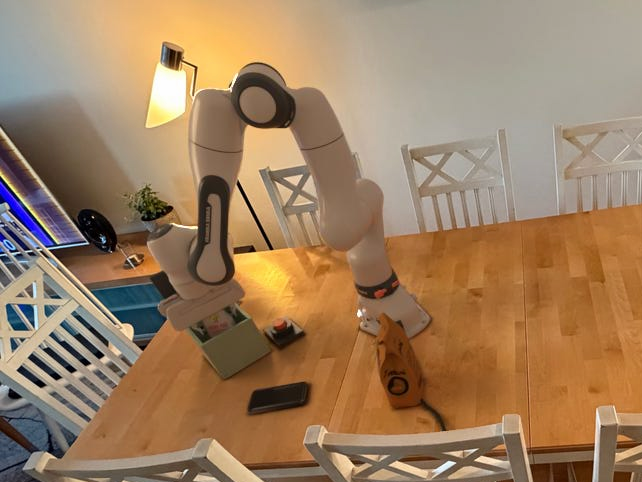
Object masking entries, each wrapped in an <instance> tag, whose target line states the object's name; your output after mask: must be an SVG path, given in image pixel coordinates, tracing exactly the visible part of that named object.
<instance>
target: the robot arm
mask: <svg viewBox="0 0 642 482" xmlns="http://www.w3.org/2000/svg"><path fill="white" fill-rule="evenodd" d="M190 106H191V108H190V113H189V119H188V133H187V138H188V139H187V144H188V145H187V146H188V147H187V148H188V158H189V164H190V169H191V173H192V174H191V175H192V179H193V183H194V184H193V185H194V189H195V194H196V203H197V226H187V225H181V224H178V223H175V222H165V223H163V224H160V225H158V226H156V227H155V228H154V229H153V230H152V231H151V232H150V233H149V234H148V236H147V239H146V245H147V248H148V250H149V252H150V254H151V255H152V257H153V259H154V261H155V262H156V264H157V265H158V267H159V268H160V270H161V271H162V270H163V271H164V272H165V273H166V274H167V276H168V278H169V281H170V283H171V284H172V286H173V287H174V289H175V290H176V292H177V293H175V294H173V295H171V296H170V297H168V298H166V299H164V298H163V299H162V300H160V302H159V304H158V305H157V311H158V312H159V313H160V315H161V316H163V317H165V318H166V320H167V321H168V323H169V325H170V326H171V328H172V329H173V330H174V331H176V332H183V331H184V330H185V329H186V328H188V327H190V326H191V327H192V328H193V329H195V330H197V331H200V333H201V334H202V335H204V334H206V333H208V332H207V331H206V329H205V328H204V327H203V326H201V327H198V326H197V324H196V323H198V322H199V321H201V320H203V319H205V318H207V317H209V316H210V315H212V314H214V313H216V312H218V311H220V310H222V309H223V308H225V307H227V306H230V311H229V312H228V313H229V314H230V316H231V317H232V318H235V317H237V314H236V313H235V310H236V304H235V302H236V301H238V300H239V301H241V300H242V299H244V298H245V297H246V291H245V289H244V288H243V286H242V285H241V283H239V281H238V280H237V279H235V277H234V276H235V273H236V267H235V266H236V265H235V257H234V256H235V254H234V253H235V250H234V239H233V236H232V235H231V234H230V232H229V222H230V221H229V220H230V219H229V218H230V210H231V204H232V200H233V197H234V193H235V189H236V187H237V184H238V181H239V177H240V174H241V170H242V169H241V168H242V163H243V158H244V146H245V145H244V144H245V134H246V129H247V128H248V126H250V127H252V128H256V129H261V130H270V129H289V130H290V132H291V134H292V136H293V137H294V140H295V142H296V144H297V146H298V148H299V149H298V150H299V151H300V153H301V155H302V157H303V160H304V162H305V165H306V166H307V169H308V171H309V173H310V176H311V179H312V182H313V185H314V190H315V194H316V201H317V205H318V213H319V221H318V234H319V237H320V240H321V241H322V242H323V244H324V245H326V246H327V247H328V248H329V249H331V250H333V251H335V252H339V253H345V252H346V261H347V263H348V266H349V269H350V272H351V274H352V277H353V283H354V284H353V285H354V288H355V290H356V292H357V294H358V298H357V303H356V304H357V308H358V311H357V317H358V318H360V319H361V321H360V324H359V328H360V330H362V331H364V332H366V333H368V334H371V335H373V336H376V337H377V335H378V332H379V329H380V327H381V323H380V321H379V318H378V317H379V315H380V314H381V313H385V314H386V315H387V316H389V317H390V318H391V319H392V320H394V322H396V323H397V324H399V325H400V326H401V327H402V328H403V330H404V331H405V333H406V335H407V337H408V339H409V340H410V339H411V338H413V337H414V336H416V335H417V334H419V333H420V332H422V331H423V330H424V329H426V327H427V326H428V325H429V324H430V322H431V317H430V315H429V314H428V313H427V312H426V311H425V310H424V309H423V307H421V306H420V305H419V304H418V303H417V302H416V301H417V300H418V297H417V295H416V294H415V293H414V292H412V293H409V291H408V288H407V285H402V283H401V282H400V280H399V278H398V275H397V273H396V271H395V270H394V269H393V267H392V265H391V262H390V258H389V255H388V251H387V246H386V239H385V238H386V237H385V228H384V227H385V226H384V213H383V212H384V210H383V209H384V202H385V197H384V192H383V191H382V188H381V187H380V186H379V185H378V184H377V182H375V181H374V180H371V179H368V178H364V177H363V178H358V179H356V178H357V177H356V176H357V175H356V174H357V173H356V172H357V164H356V160H355V158H354V155H353V153H352V150H351V148H350V147H351V146H350V145H349V142H348V140H347V137H346V135H345V132H344V130H343V127H342V125H341V123H340V120H339V118H338V116H337V114H336V112H335V110H334V108H333V107H332V105H331V103H330V102H329V100H328V98H327V97H326V95H325V94H324V93H323V92H322V91H321V90H320V89H318V88H316V87H312V86H304V87H299V88H297V89H296V88H291V87H289V86H287V83H286V80H285V79H284V77H283V76H282V74H281V73H280V72H279V71H278V70H277V69H276V68H275V67H273V66H272V65H270V64H267V63H266V62H260V61H255V62H254V61H253V62H249V63H247V64H246V65H244V66H243V67H242V68H240V70H239V71H238V72H237V73H236V75H235V76H234V78H233V79H232V81H231V82H230V83H229V85H228V89H220V88H216V87H205V88H202V89H199V90H198V91H196V92H195V94H194V96H193V98H192V104H191V105H190ZM185 331H186V330H185ZM420 402H421V403H420V404H421V405H422V406H423V407H424V408H425V409H427V411H429V412H430V413H432V414H433V415H434V417H435V418H436V419H437V421H438V422H439V425H440V428H441V431H442V432H443V431H447V428H446V425H445V422H444V420H443V418H442V417H441V415H440V414H439V412H438V411H437V410H436V409H434V408H433V407H432V406H431V405H429V404H428V403H427V402H426V401H425V400H424V398H423V397H422V398H421V400H420Z"/></svg>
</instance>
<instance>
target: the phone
mask: <svg viewBox="0 0 642 482" xmlns="http://www.w3.org/2000/svg"><path fill="white" fill-rule="evenodd" d="M308 391H309V384H308V383H307V381H299V382H298V381H297V382H292V383H287V384H281V385H275V386H274V385H273V386H269V387H263V388H258V389H255V390H253V391H252V393H251V395H250V398H249V402H248V404H247V408H246V410H247V412H249V414H250V415H254V414H259V413H265V412H273V411H278V410H282V409H289V408H294V407H300V406H303V405H305V404H306V401H307V397H308V396H307V395H308Z"/></svg>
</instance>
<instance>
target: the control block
mask: <svg viewBox="0 0 642 482" xmlns="http://www.w3.org/2000/svg"><path fill="white" fill-rule="evenodd" d="M282 319H284V320H285V322H286V324H287V325H286V327H285V328H283V329H282V330H275V328H274V327H273V323H271V324H270V325H269V326H267V327H264V328H263V329H262V331H263V333H264V334H265V335H266V336H267V337H268V338H269V339H270V340H271V341H272V342H273V343H274V344H275V345H276V346H278V347H279V349H280V350H283V349H284V348H285V347H287V346H288V345H291V344H292V343H294V342H295V341H297V340H299V339H300V338H302V337H303V336H305V333H304V330H303V329H301V328H300V327H299V326H298V325H297V324H295V323H294V322H293V321H292V320H291V319H290V318H288V317H287V316H284V317H282Z"/></svg>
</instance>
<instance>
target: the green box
mask: <svg viewBox="0 0 642 482" xmlns="http://www.w3.org/2000/svg"><path fill="white" fill-rule="evenodd" d="M235 304H236V303H235ZM222 310H224V311H225V312H226V313H228V312H229V311H230V306H227V307H225V308H223V309H222ZM235 313H236V314H237V317H235V318H233V319H234V321H235V323H236V324H237V325H235V326H233V327H231V328H230V329H228V330H226V331H224V332H222V333H221V334H219V335H217V336H215V337H213V338H212V339H211V338H210V336H209V335H208V334H207V333H206V334H204V335H202V334H201V333H200V331H197V330H195V329H193V328H192V327H191V326H190V327H188V328H186V329H185V331H186V332H187V334H188V335H189V337H190V338H191V339H192V342H194V344H195V346H197V348H198V349H199V351H200V352H201V354H202V355H203V356H204V358H205V359H206V360H207V361H208V362H209V364H210V365H211V366H212V367H213V368H214V369H215V371H216V372H217V374H219V376H220V377H221V378H222V379H223V380H227V379H228V378H229V377H231V376H233V375H235V374H236V373H238V372H239V371H241V370H243V369H245V368H247V367H248V366H249V365H251V364H253V363H254V362H256V361H258V360H260V359H261V358H264V357H265V356H266V355H268V354H269V353H271V352H272V351H271V348H270V347H269V346H268V344H267V342H266V340H265V339H264V336H263V335H262V333H261V331H260V330H259V328H258V327H257V324H256V323H255V321H254V319H253V317H251V316H250V315H249V314H248V313H247V312H246V311H245V310H244V309H243V308H242V307H241V306H240V307H239V306H238V305H237V304H236V310H235ZM228 314H229V313H228ZM229 315H230V314H229ZM196 324H197V326H198V327H201V326H203V323H202V321H199V322H198V323H196ZM203 327H204V326H203Z"/></svg>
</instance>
